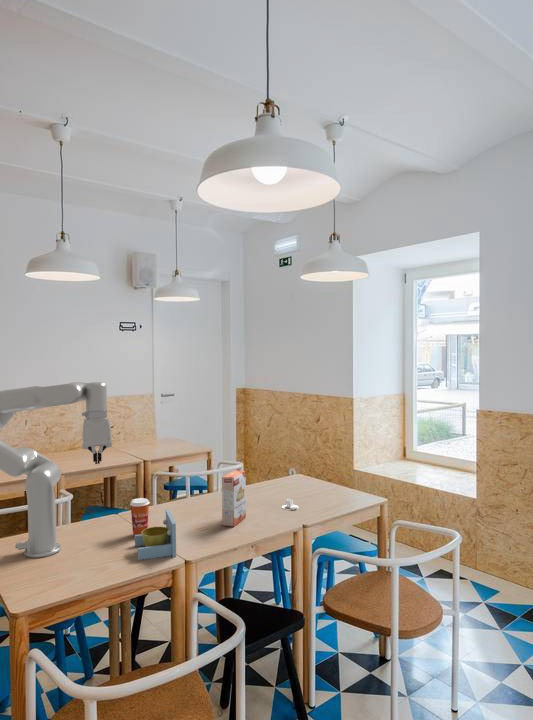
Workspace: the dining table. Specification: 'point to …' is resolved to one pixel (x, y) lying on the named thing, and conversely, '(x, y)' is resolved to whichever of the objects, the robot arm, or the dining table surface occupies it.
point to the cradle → (159, 549)
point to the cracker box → (233, 498)
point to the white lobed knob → (290, 505)
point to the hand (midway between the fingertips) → (97, 463)
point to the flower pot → (155, 536)
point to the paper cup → (139, 515)
